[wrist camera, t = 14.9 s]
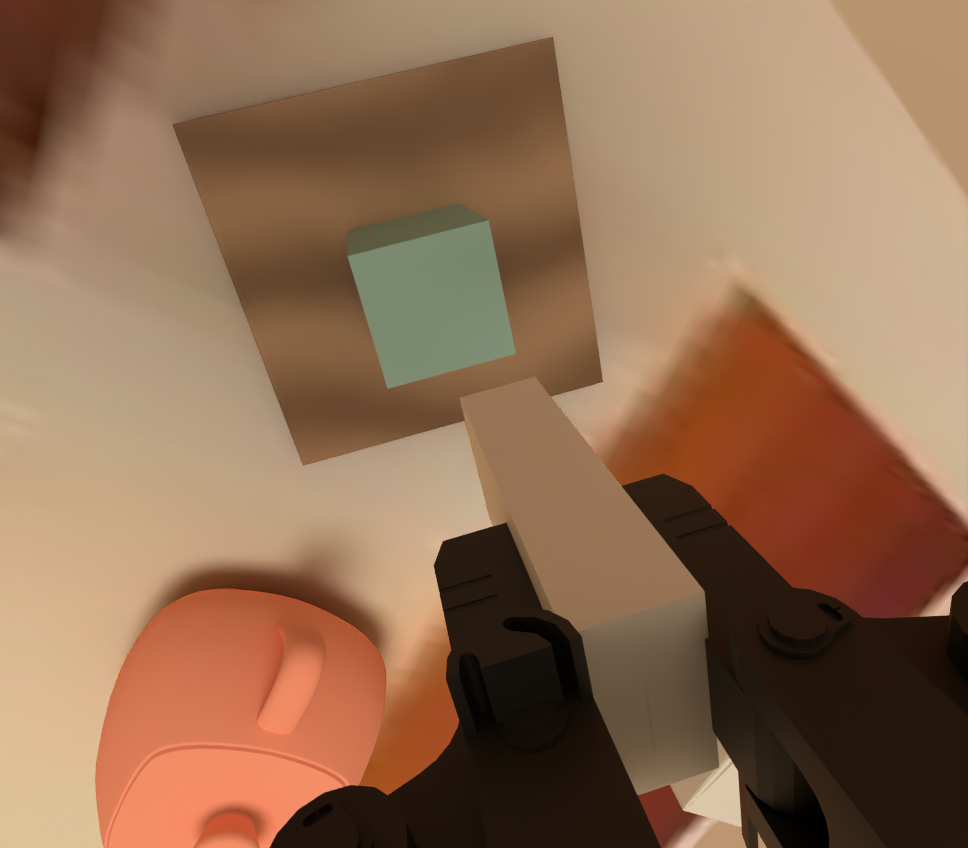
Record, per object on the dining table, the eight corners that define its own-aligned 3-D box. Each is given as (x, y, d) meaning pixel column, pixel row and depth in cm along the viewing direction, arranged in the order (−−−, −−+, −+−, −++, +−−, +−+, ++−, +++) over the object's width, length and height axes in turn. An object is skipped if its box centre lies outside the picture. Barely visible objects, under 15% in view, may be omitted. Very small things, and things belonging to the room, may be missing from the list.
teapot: (79, 765, 39) (-25, 1011, 28) (197, 489, 34) (126, 660, 23) (296, 803, 43) (280, 1027, 33) (431, 566, 38) (466, 739, 27)
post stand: (177, 125, 27) (137, 122, 22) (547, 39, 28) (593, 17, 23) (304, 458, 34) (296, 517, 29) (597, 376, 35) (641, 418, 30)
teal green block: (347, 231, 29) (347, 256, 23) (459, 203, 30) (488, 220, 24) (379, 341, 31) (387, 388, 25) (484, 313, 32) (516, 353, 26)
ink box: (595, 648, 43) (677, 816, 33) (638, 591, 42) (738, 746, 31) (690, 684, 46) (793, 848, 36) (733, 632, 45) (853, 786, 34)
